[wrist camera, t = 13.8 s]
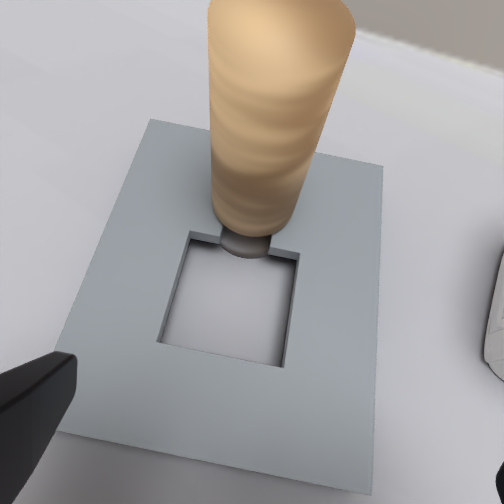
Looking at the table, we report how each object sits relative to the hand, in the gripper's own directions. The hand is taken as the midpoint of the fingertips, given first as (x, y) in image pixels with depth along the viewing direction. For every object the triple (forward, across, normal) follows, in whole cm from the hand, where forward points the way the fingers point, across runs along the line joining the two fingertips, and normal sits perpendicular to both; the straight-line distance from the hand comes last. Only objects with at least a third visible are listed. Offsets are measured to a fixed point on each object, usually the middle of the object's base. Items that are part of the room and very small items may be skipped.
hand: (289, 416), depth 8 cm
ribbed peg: (+18, +2, +1) cm, 18 cm away
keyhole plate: (+15, +2, +4) cm, 16 cm away
